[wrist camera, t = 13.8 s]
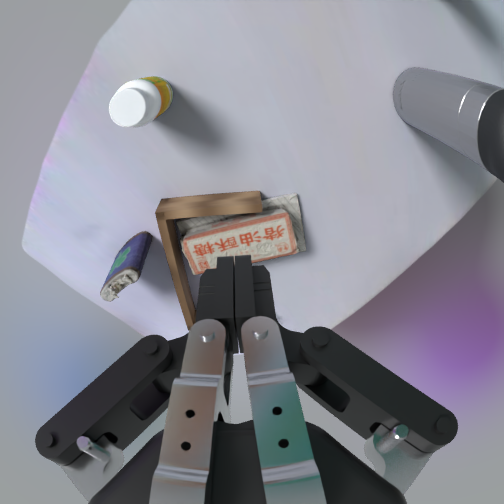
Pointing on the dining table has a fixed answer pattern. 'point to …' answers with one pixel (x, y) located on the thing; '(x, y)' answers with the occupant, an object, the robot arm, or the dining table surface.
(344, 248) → the dining table surface
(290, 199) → the packaged product
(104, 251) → the dining table surface
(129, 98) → the supplement bottle
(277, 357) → the robot arm
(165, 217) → the frame
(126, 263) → the flask
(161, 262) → the dining table surface
